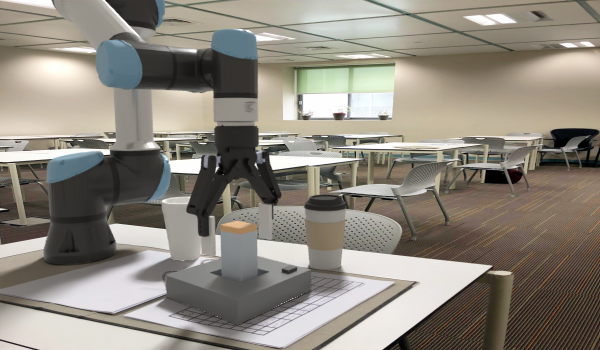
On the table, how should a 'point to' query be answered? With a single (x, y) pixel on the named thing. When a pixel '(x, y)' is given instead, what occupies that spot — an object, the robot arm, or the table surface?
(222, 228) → the plug peg
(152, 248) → the table surface
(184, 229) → the foam cup
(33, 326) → the table surface
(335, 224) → the coffee cup
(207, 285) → the socket block
